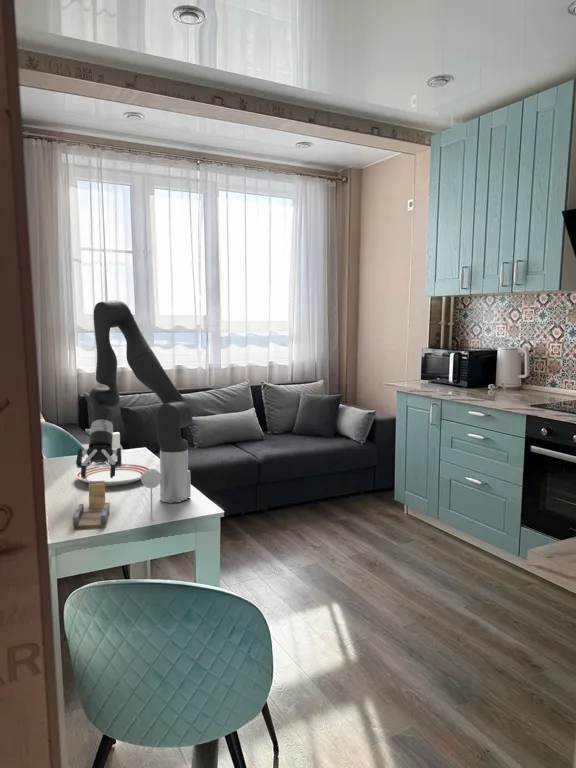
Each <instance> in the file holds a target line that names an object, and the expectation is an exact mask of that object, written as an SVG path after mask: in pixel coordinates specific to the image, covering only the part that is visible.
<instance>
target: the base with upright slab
mask: <svg viewBox="0 0 576 768" xmlns="http://www.w3.org/2000/svg"><path fill="white" fill-rule="evenodd" d="M118 448H121V433H120V432H119V431H116V432H114V431H113V439H112V449H113V450H117V449H118ZM111 458H112V459H113V461H114V462H117V456H115V454H113V455H112V456H111ZM100 463H101V462H100ZM100 463H99V464H100ZM104 463H107V462H104Z"/></svg>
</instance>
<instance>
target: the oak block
mask: <svg viewBox="0 0 576 768" xmlns="http://www.w3.org/2000/svg"><path fill="white" fill-rule="evenodd" d="M105 503H106V486H105V481H90V483H88V509H89V510H101V509H102V510H103V508H104V506H105Z"/></svg>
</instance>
